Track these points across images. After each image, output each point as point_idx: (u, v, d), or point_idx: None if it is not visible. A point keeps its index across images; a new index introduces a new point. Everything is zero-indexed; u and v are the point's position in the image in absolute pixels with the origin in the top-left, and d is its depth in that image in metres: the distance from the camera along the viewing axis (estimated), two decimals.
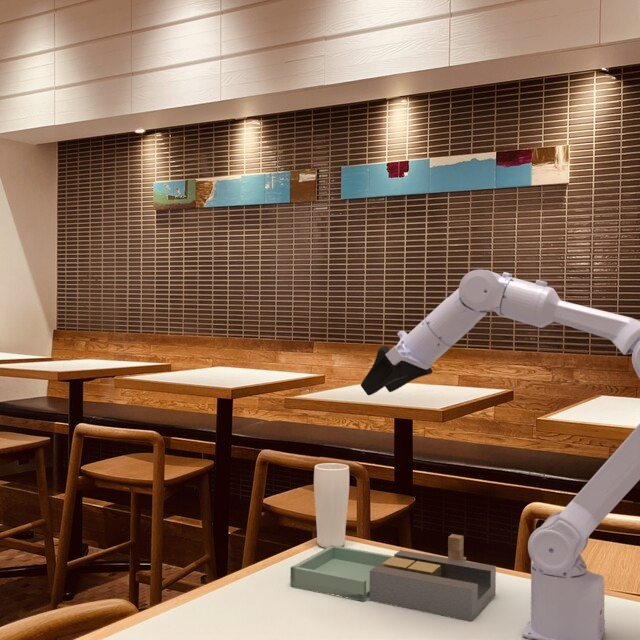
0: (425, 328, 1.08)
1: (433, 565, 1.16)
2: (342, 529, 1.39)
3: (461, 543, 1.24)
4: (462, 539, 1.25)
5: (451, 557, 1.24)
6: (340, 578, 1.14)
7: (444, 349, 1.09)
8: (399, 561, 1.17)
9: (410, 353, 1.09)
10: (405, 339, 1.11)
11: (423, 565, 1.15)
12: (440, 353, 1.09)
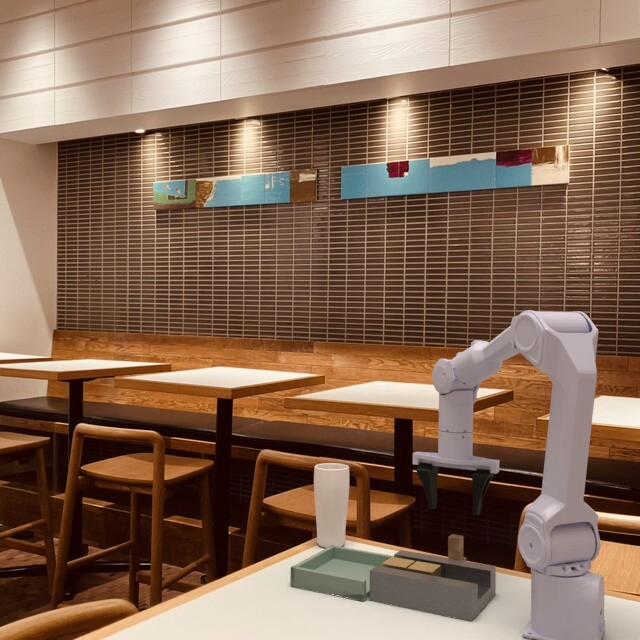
0: None
1: (433, 565, 1.16)
2: (342, 529, 1.39)
3: (461, 543, 1.24)
4: (462, 539, 1.25)
5: (451, 557, 1.24)
6: (340, 578, 1.14)
7: (446, 437, 1.23)
8: (399, 561, 1.17)
9: (437, 456, 1.26)
10: None
11: (423, 565, 1.15)
12: (446, 442, 1.23)
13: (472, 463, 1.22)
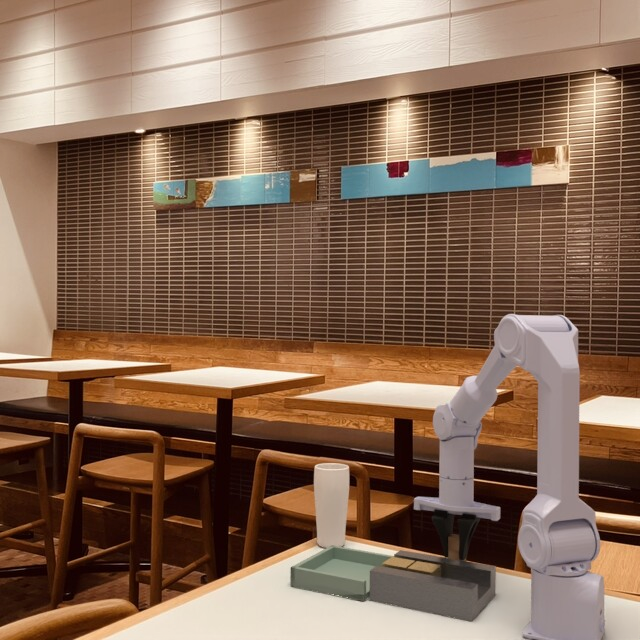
0: None
1: (433, 565, 1.16)
2: (342, 529, 1.39)
3: None
4: None
5: (451, 557, 1.24)
6: (340, 578, 1.14)
7: (446, 483, 1.23)
8: (399, 561, 1.17)
9: (438, 501, 1.26)
10: None
11: (423, 565, 1.15)
12: (447, 489, 1.23)
13: (473, 510, 1.22)
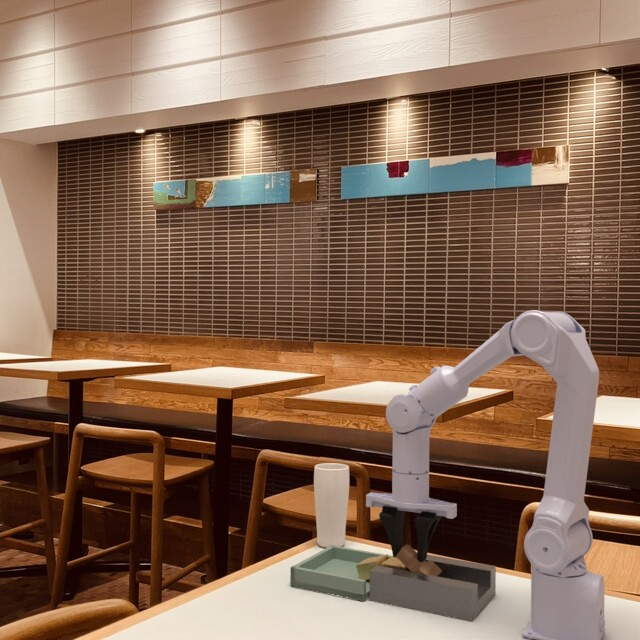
0: None
1: None
2: (342, 529, 1.39)
3: (409, 550, 1.16)
4: (408, 547, 1.16)
5: (413, 569, 1.14)
6: (340, 578, 1.14)
7: (399, 478, 1.14)
8: (372, 559, 1.20)
9: (391, 498, 1.17)
10: None
11: (396, 561, 1.18)
12: (400, 484, 1.14)
13: (427, 507, 1.13)
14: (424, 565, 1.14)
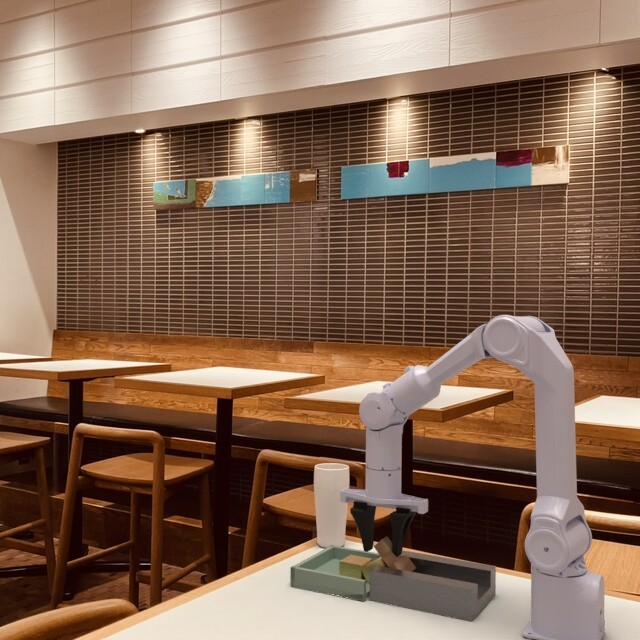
0: None
1: None
2: (342, 529, 1.39)
3: (388, 543, 1.17)
4: (387, 539, 1.18)
5: (389, 562, 1.16)
6: (340, 578, 1.14)
7: (372, 475, 1.16)
8: (356, 559, 1.21)
9: (365, 494, 1.20)
10: None
11: (375, 560, 1.19)
12: (372, 480, 1.16)
13: (398, 503, 1.15)
14: (399, 560, 1.16)
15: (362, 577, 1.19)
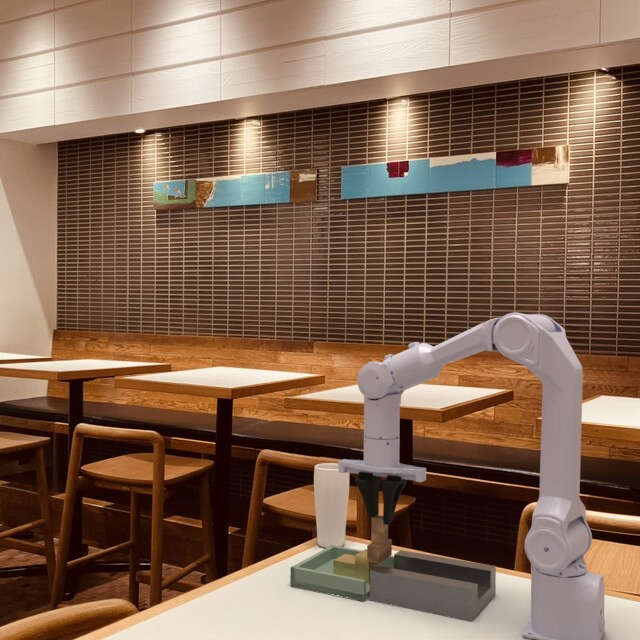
0: None
1: None
2: (342, 529, 1.39)
3: (385, 524, 1.18)
4: None
5: (374, 539, 1.18)
6: (340, 578, 1.14)
7: (370, 444, 1.17)
8: (350, 558, 1.22)
9: (363, 463, 1.20)
10: None
11: None
12: (370, 449, 1.17)
13: (397, 471, 1.15)
14: (384, 545, 1.17)
15: None
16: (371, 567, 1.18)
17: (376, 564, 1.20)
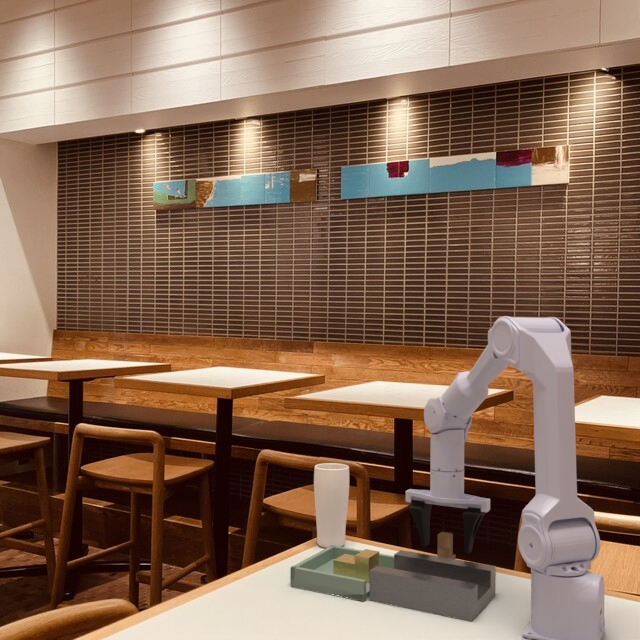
0: None
1: None
2: (342, 529, 1.39)
3: (450, 541, 1.26)
4: (451, 537, 1.26)
5: (440, 554, 1.26)
6: (340, 578, 1.14)
7: (437, 476, 1.25)
8: (350, 558, 1.22)
9: (429, 494, 1.28)
10: None
11: None
12: (438, 481, 1.25)
13: (463, 502, 1.23)
14: None
15: None
16: (371, 567, 1.18)
17: (376, 564, 1.20)
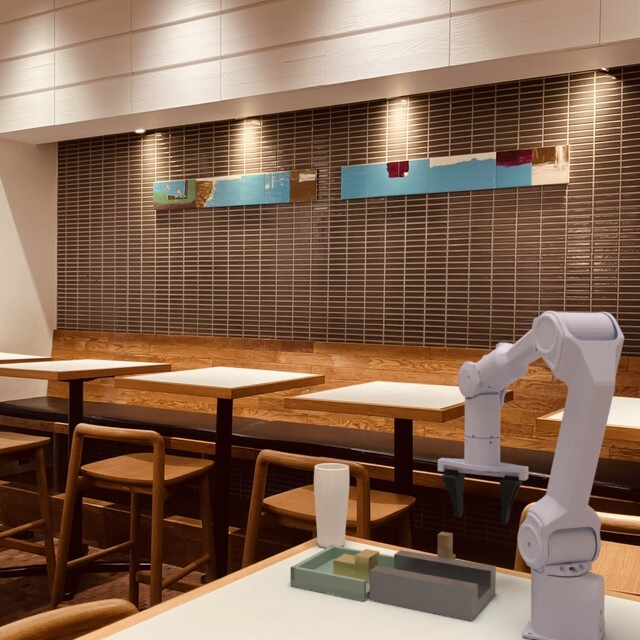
0: None
1: None
2: (342, 529, 1.39)
3: (450, 540, 1.26)
4: (451, 537, 1.26)
5: (440, 554, 1.26)
6: (340, 578, 1.14)
7: (472, 442, 1.19)
8: (350, 558, 1.22)
9: (463, 462, 1.22)
10: None
11: None
12: (473, 448, 1.19)
13: (500, 469, 1.17)
14: None
15: None
16: (371, 567, 1.18)
17: (376, 564, 1.20)
